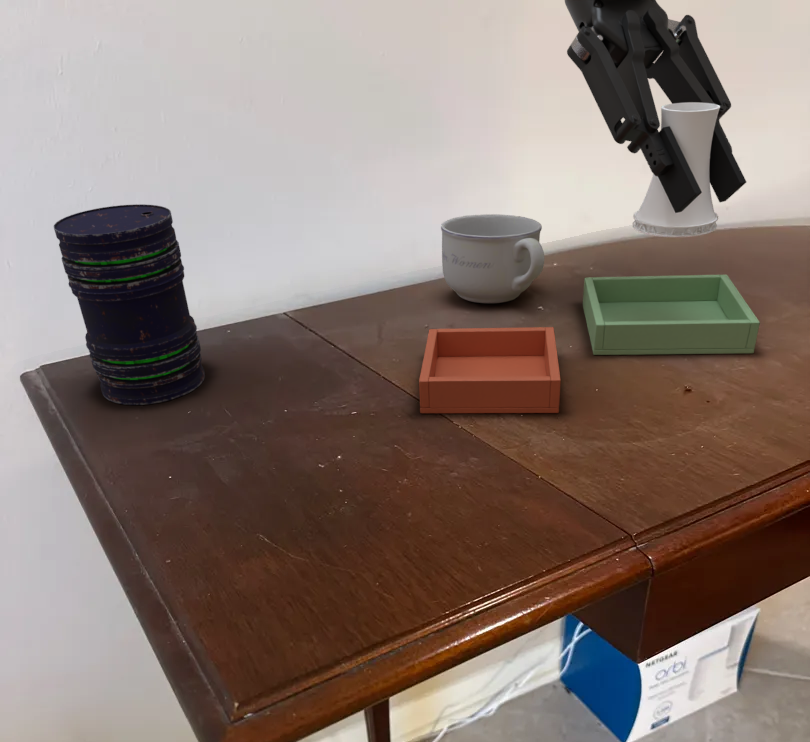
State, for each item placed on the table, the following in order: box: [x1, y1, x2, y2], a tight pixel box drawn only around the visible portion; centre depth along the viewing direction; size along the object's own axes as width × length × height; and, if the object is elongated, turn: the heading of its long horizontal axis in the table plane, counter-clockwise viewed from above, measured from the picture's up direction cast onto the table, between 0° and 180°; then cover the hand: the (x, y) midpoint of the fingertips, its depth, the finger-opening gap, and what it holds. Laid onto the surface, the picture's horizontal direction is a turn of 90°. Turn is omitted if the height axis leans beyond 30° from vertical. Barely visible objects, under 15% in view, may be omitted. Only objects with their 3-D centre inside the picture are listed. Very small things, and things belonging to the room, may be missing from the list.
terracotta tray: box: [418, 326, 562, 414], centre depth 72 cm, size 12×12×3 cm
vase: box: [631, 102, 720, 238], centre depth 73 cm, size 8×8×10 cm
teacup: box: [440, 213, 545, 304], centre depth 88 cm, size 14×11×8 cm
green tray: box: [582, 274, 761, 356], centre depth 81 cm, size 15×14×3 cm
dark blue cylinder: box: [53, 203, 206, 406], centre depth 73 cm, size 10×10×15 cm
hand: (710, 197), depth 71 cm, fingers closed on vase, 5 cm apart
